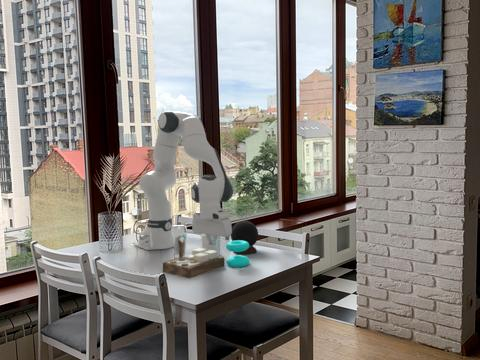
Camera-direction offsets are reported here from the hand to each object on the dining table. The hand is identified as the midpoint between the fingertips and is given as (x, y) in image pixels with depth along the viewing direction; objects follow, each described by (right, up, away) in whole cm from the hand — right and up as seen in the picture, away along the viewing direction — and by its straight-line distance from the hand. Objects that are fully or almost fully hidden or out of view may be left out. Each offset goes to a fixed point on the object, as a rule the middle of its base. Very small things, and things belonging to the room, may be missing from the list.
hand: (212, 244), depth 216 cm
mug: (-1, -8, +18) cm, 19 cm away
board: (-8, -10, -2) cm, 13 cm away
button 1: (-10, -9, +1) cm, 13 cm away
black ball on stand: (+14, -7, +24) cm, 29 cm away
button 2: (-4, -8, -4) cm, 10 cm away
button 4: (-1, -7, +1) cm, 7 cm away
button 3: (-6, -7, +5) cm, 10 cm away
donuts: (+11, -9, +2) cm, 15 cm away
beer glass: (-15, -9, +16) cm, 24 cm away
